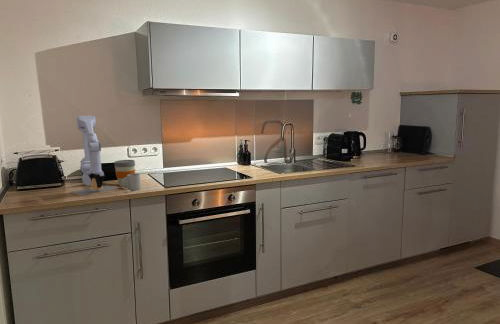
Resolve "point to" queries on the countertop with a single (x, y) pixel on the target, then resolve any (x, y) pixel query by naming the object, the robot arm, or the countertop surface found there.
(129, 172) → the reusable coffee cup
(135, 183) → the cup
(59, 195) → the countertop surface
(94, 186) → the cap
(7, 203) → the countertop surface
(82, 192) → the board
